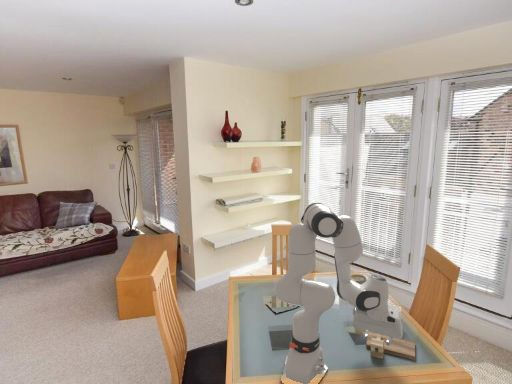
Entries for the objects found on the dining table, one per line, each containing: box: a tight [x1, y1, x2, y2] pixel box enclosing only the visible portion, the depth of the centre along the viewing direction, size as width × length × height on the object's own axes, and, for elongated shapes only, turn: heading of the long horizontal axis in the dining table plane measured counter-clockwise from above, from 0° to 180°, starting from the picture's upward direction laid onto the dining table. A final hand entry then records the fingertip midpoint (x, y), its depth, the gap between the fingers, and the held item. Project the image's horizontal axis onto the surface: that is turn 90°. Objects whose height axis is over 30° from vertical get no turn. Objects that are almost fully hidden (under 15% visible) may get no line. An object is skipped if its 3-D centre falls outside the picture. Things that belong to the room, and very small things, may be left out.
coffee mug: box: [351, 273, 367, 284], centre depth 184 cm, size 13×10×10 cm
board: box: [365, 331, 416, 361], centre depth 134 cm, size 11×20×2 cm, turn 62°
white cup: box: [388, 303, 402, 322], centre depth 149 cm, size 8×8×10 cm
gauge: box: [370, 334, 385, 360], centre depth 133 cm, size 16×5×6 cm, turn 152°
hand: (376, 341), depth 128 cm, fingers open, 8 cm apart
